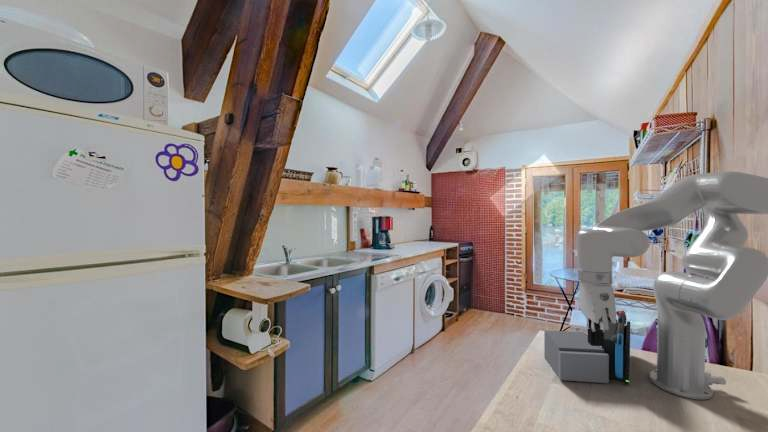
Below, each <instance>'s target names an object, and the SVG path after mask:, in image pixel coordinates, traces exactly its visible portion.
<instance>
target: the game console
mask: <svg viewBox="0 0 768 432" xmlns="http://www.w3.org/2000/svg"><path fill="white" fill-rule="evenodd" d="M616 316H617V317H618V319H617V318H616V323H615V324H612V323H610V322H609V321H608V327H609V330H605V332H604V346H601V347H602V348H603V349H604V353H607V354H608V355H609V381H612V382H616V383H620V384H623V385H626V386H630V371H631V370H630V368H631V367H630V366H631V361H630V360H631V321H629V320H628V321H627V315H626V311H625V310H617V311H616Z"/></svg>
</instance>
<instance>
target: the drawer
mask: <svg viewBox="0 0 768 432" xmlns="http://www.w3.org/2000/svg"><path fill="white" fill-rule="evenodd" d="M558 379H559V380H560V381H573V382H584V383H585V382H587V383H602V384H610V383H609V381H610V380H609V355H608V354H607V353H592V352H573V351H559V378H558Z"/></svg>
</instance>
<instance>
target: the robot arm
mask: <svg viewBox="0 0 768 432" xmlns="http://www.w3.org/2000/svg"><path fill="white" fill-rule="evenodd" d="M701 209H702V210H703V213H704V217H705V218H704V219H705V224H704V227H703V229H702V230H701V232H700V233H699V234H698V235H697V237H696V238H695V239H694V240H693V242H691V244H690V246H688V248H687V250H686V251H685V252H684V254H683V255H682V258H681V266H682V267H683V269H684V270H686V271H687V273H686V272H683V271H664V272H663V273H660V274H659V275H657V276H656V277H655V279H654V281H653V285H652V286H653V289H652V291H653V295H654V298H655V303H656V309H657V310H656V311H657V332H656V333H657V338H656V339H657V340H656V341H657V343H656V348H657V349H656V369H655V370H652V371H650V372H649V379H650V381H651V382H652V383H653V384H654V385H655V386H657V387H658V388H660V389H662V390H664V391H666V392H668V393H671V394H674V395H676V396H680V397H683V398H687V399H692V400H699V401H700V400H708V399H711V398H712V397H713V395H714V393H713V392H714V391H713V389H712V387H710V386H712V385H724V386H725V385H727V381H726V379H725V378H724V377H723V376H717V375H716V376H715V375H713V376H712V373H710V372H706V369H705V368H706V335H707V330H706V329H707V328H706V325H705V321H704V319H703V316H704V317H706V318H711V319H714V320H719V321H729V320H732V319H735V318H736V317H738V316H739V315H740V314H741V313H742V312H743V311H744V310H745V308H746V307H747V306H748V304H749V303H750V302H751V301H752V300H753V298H754V297H755V296H756V294H757V293H758V292H759V290H760V289H761V288H762V287H763V286H764V284H765V282H766V281H767V279H768V256H767V255H766V254H765V253H764V252H762V251H761V250H759V249H756V248H755V247H754V248H753V247H749V246H744V245H745V243H746V242H747V240H748V237H749V232H748V230H747V228H746V226H745V225H744V223H743V222H742V220H741V219H740V217H739V215H740V214H742V215H768V177H764V176H760V175H755V174H751V173H746V172H740V171H728V170H727V171H717V172H715V171H714V172H705V173H704V172H702V173H695V174H690V175H687V176H684V177H682V178H681V179H680V180H678V181H677V182H674V184H672V185H671V186H669V187H667V189H665V190H663V191H661V193H659V194H658V195H656V196H654V197H653V198H651V199H650V200H647V201H645V202H642V203H639V204H635V205H633V206H631V207H627V208H626V209H623V210H619V211H617V212H614V213H613V214H611V215H609V216H607V217H605V218H604V219H602V220H601V221H600V222H598V223H597V224H595V225H594V226H593V227H592V229H591V228H588V229H587V228H586V229H581V230H579V231H578V233H577V236H576V243H577V244H576V245H577V248H576V249H577V254H576V255H577V281H578V282H579V287H578V288H579V289H578V307H579V311H580V313H582V314H583V315H584V317H585V318H586V319H585V320H586V327H587V335H588V343H589V344H590V345H591V346H600V347H602V346H604V332H605V330H609V327H608V321H609V322H610V323H612V324H615V323H616V319H617V314H616V310H617V309H616V299H615V292H614V287H613V284H614V282H613V258H614V257H619V258H621V257H622V258H636V257H640V256H642V255H644V254H645V253H647V251H648V249H650V244H651V243H650V238H649V236H648V235H647V234H646V233H645V231H653V230H660V229H666V228H670V227H674V226H677V225H679V224H680V223H682V222H683V221H685V220H686V219H687V218H689V217H690V216H692V215H693V214H695V213H696V212H698V210H701ZM738 214H739V215H738ZM688 272H689V273H688Z"/></svg>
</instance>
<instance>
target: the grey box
mask: <svg viewBox="0 0 768 432" xmlns="http://www.w3.org/2000/svg"><path fill="white" fill-rule="evenodd" d="M543 336H544V343H543V345H544V346H543V347H544V350H543V351H544V356H543V357H544V359H545V360H547V361H546V363H548V364H550V365H549V366H550V367H552V368H551V369H552V371H553V372H554V373H555V375H556V376H557V377H558V379H559V351H573V352H592V353H604V349H603V348H602V346H591V345H590V344H589V343H588V333H586V332H584V331H567V330H566V331H564V330H544V335H543Z"/></svg>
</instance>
